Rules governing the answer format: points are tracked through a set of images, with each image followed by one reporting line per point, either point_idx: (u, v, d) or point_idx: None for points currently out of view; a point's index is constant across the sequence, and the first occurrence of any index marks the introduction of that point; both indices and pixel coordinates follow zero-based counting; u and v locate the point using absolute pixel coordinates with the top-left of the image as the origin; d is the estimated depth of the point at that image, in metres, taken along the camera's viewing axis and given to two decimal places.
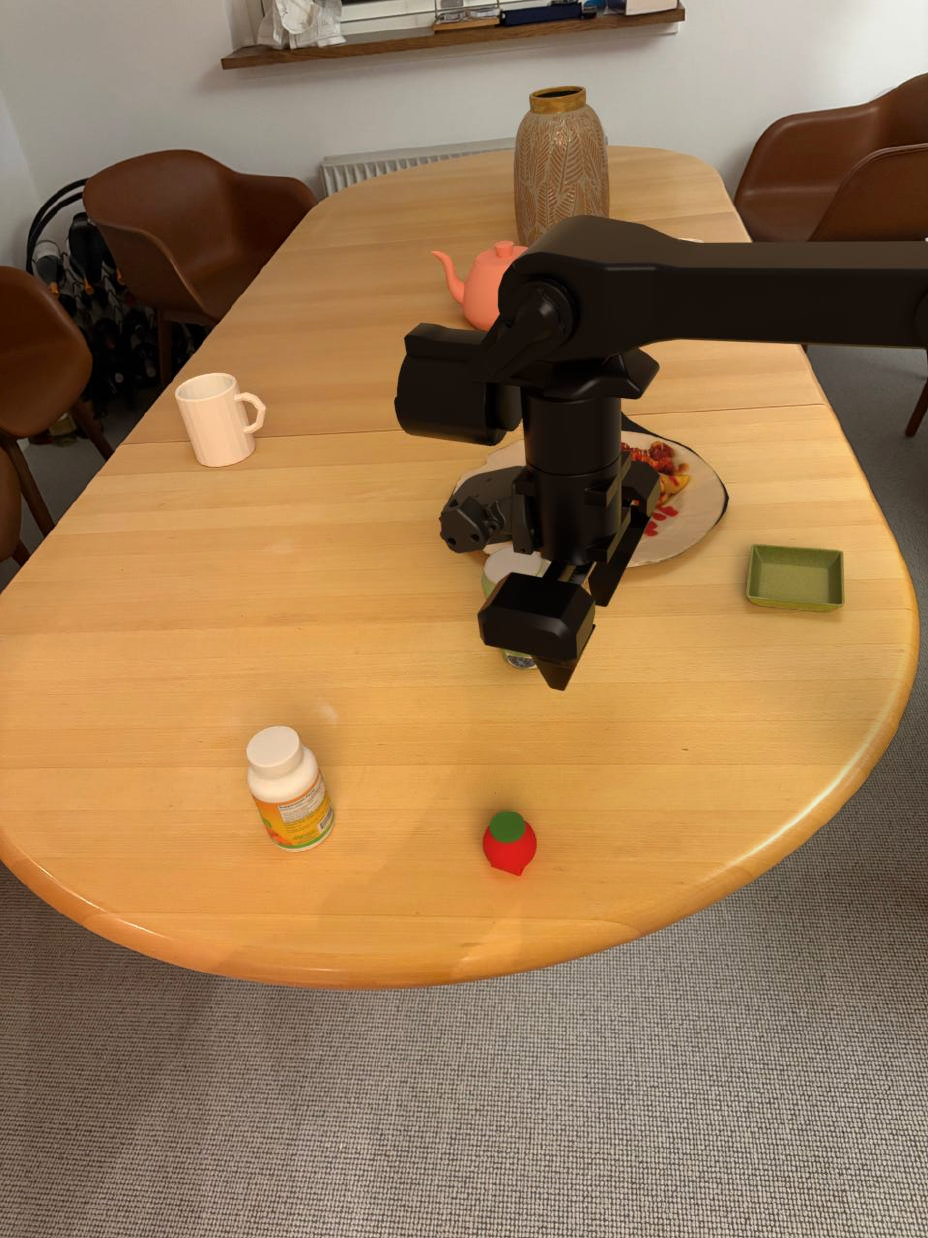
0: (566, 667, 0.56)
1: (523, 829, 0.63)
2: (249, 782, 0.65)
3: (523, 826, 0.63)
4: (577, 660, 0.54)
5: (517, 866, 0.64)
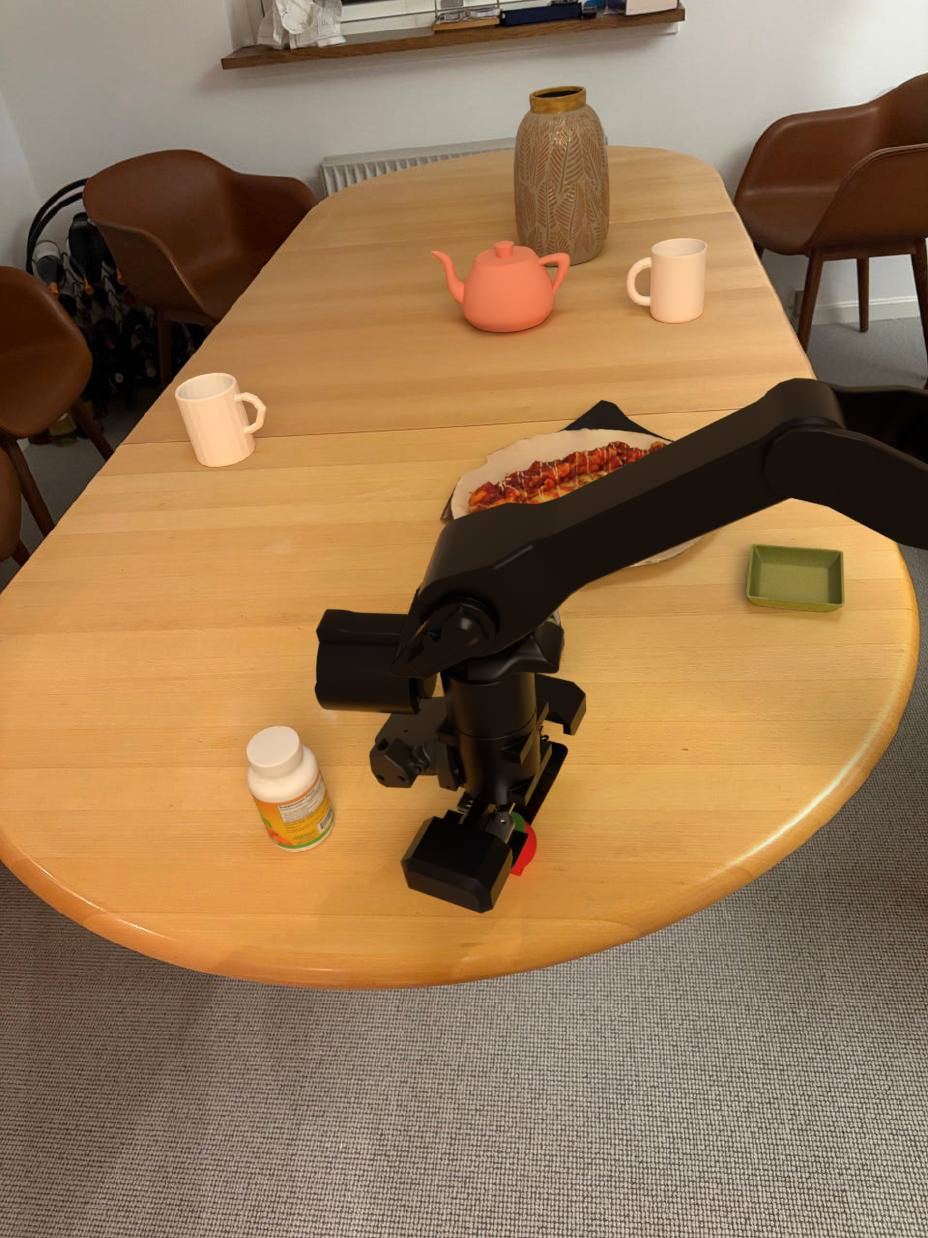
0: None
1: (523, 829, 0.63)
2: (249, 782, 0.65)
3: (523, 826, 0.63)
4: None
5: (517, 866, 0.64)
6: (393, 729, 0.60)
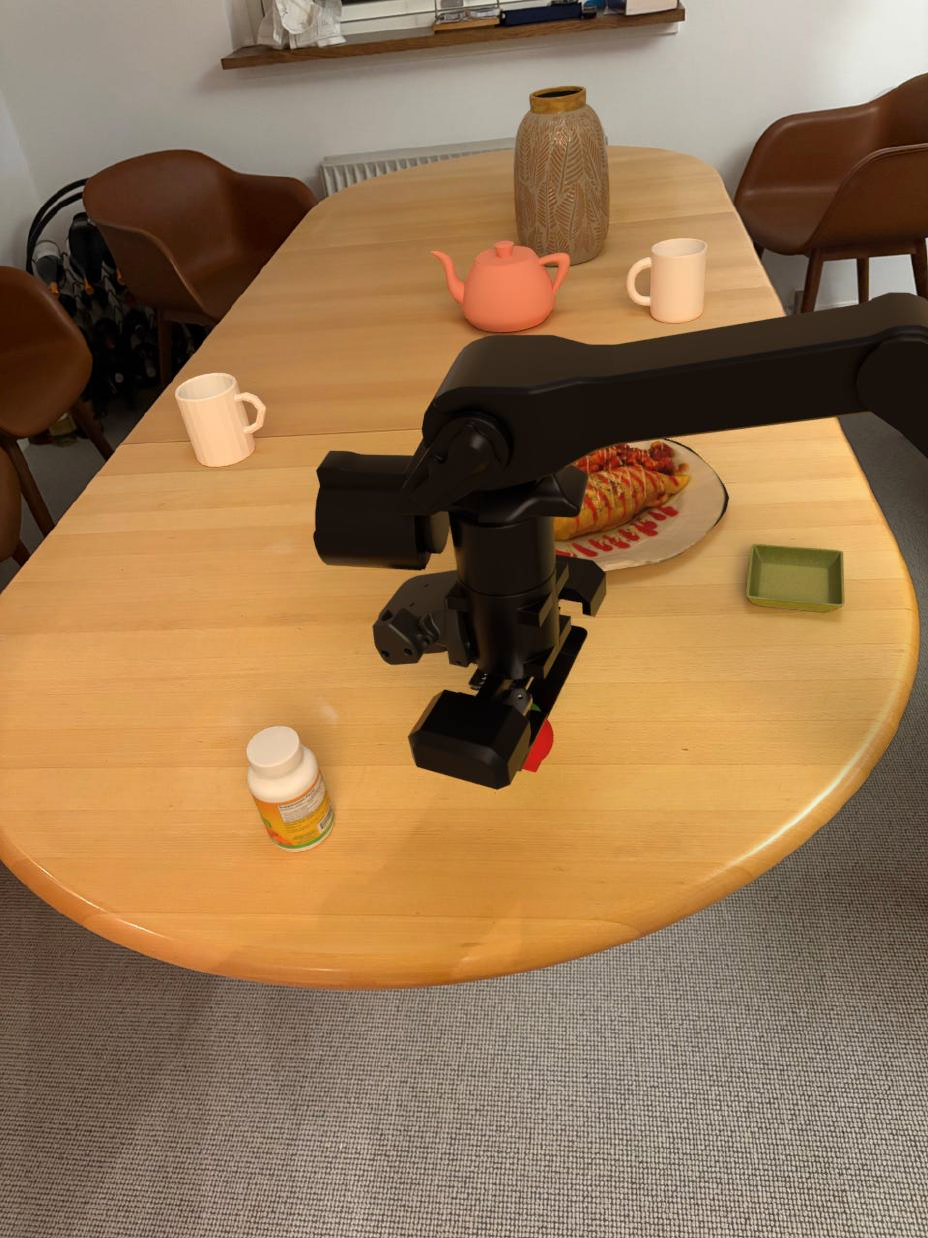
0: None
1: None
2: (249, 782, 0.65)
3: None
4: (530, 747, 0.54)
5: (533, 759, 0.59)
6: (398, 605, 0.55)
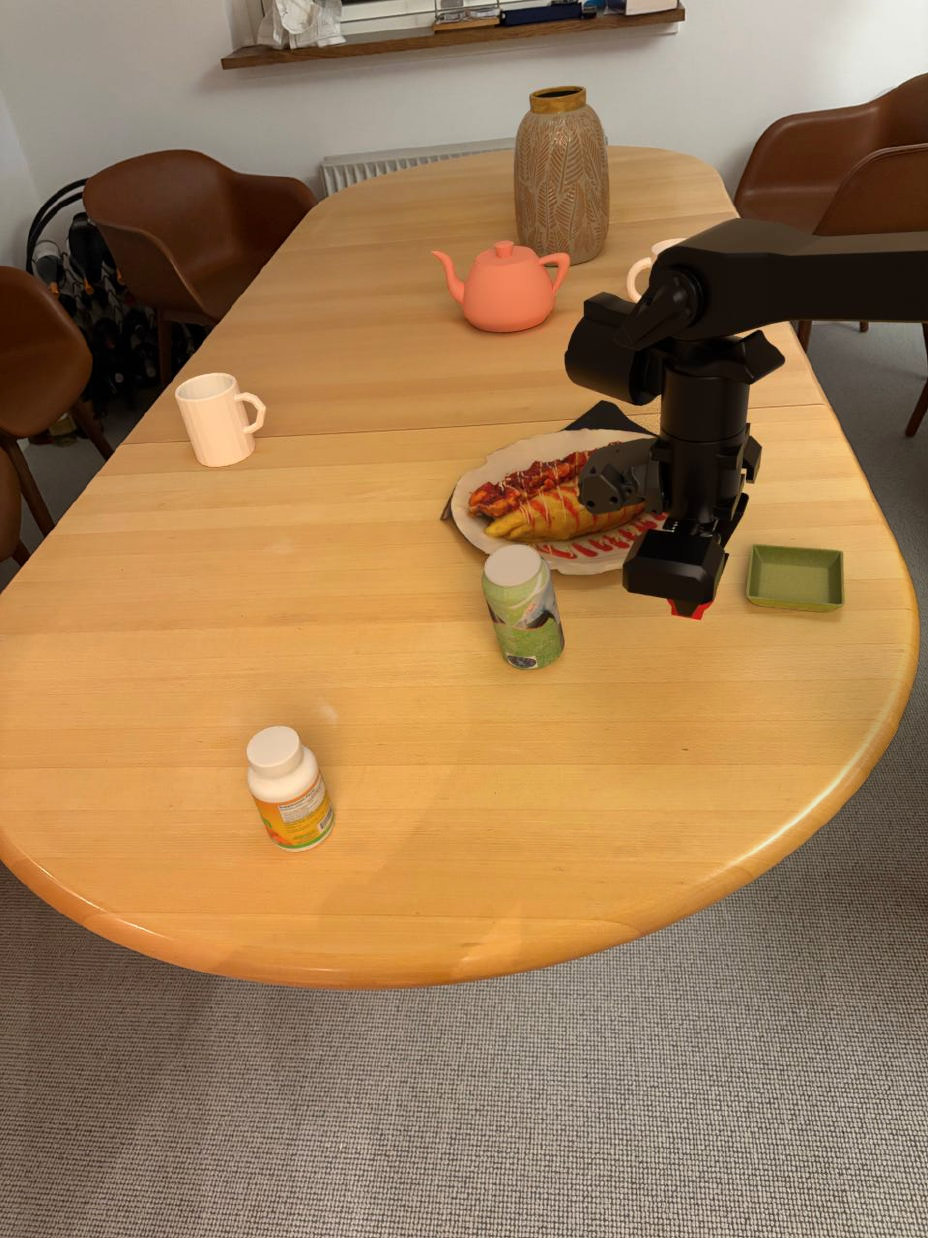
0: None
1: None
2: (249, 782, 0.65)
3: None
4: None
5: (701, 605, 0.68)
6: (595, 466, 0.65)
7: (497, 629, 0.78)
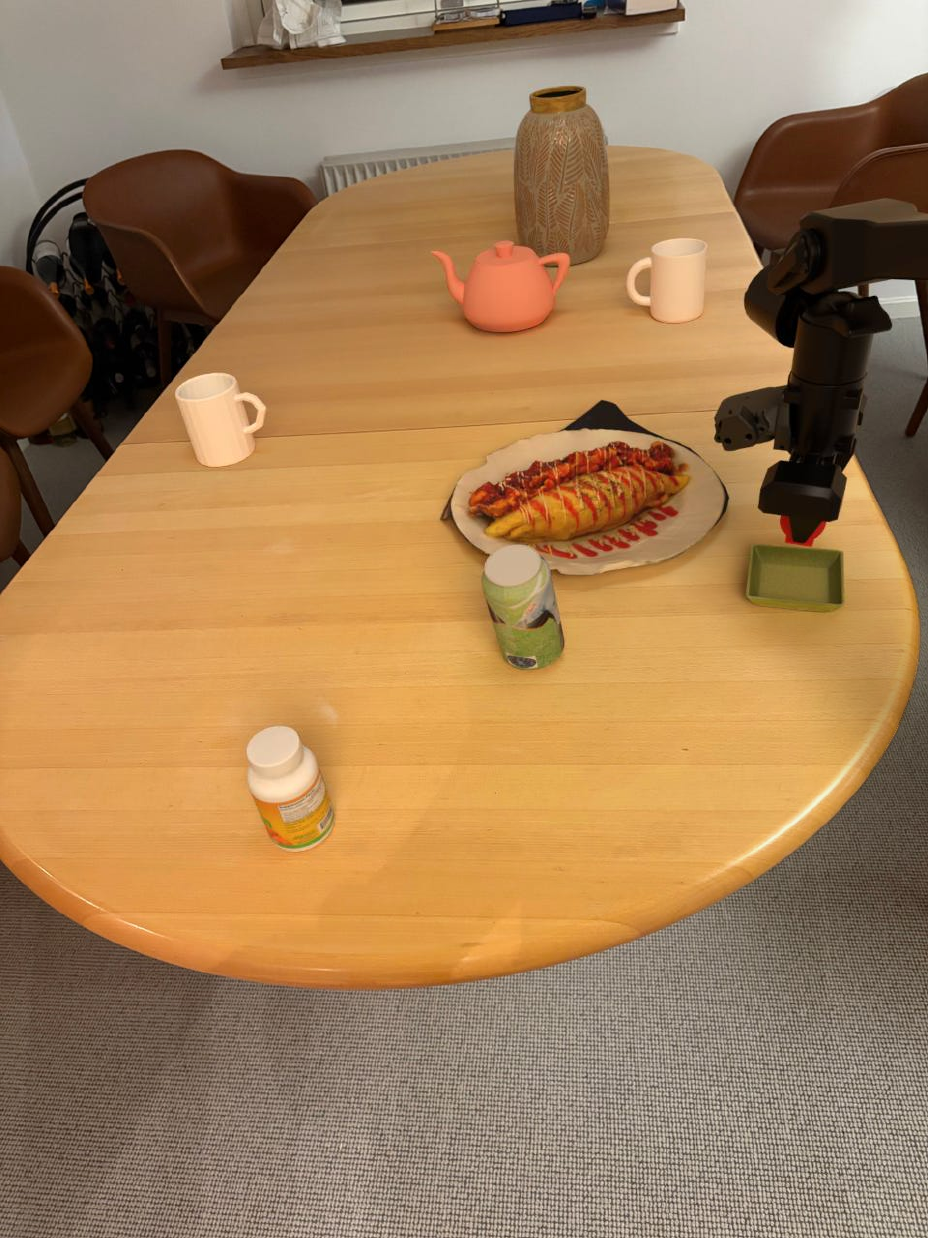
0: (816, 519, 0.76)
1: None
2: (249, 782, 0.65)
3: None
4: None
5: (814, 533, 0.79)
6: None
7: (497, 629, 0.78)
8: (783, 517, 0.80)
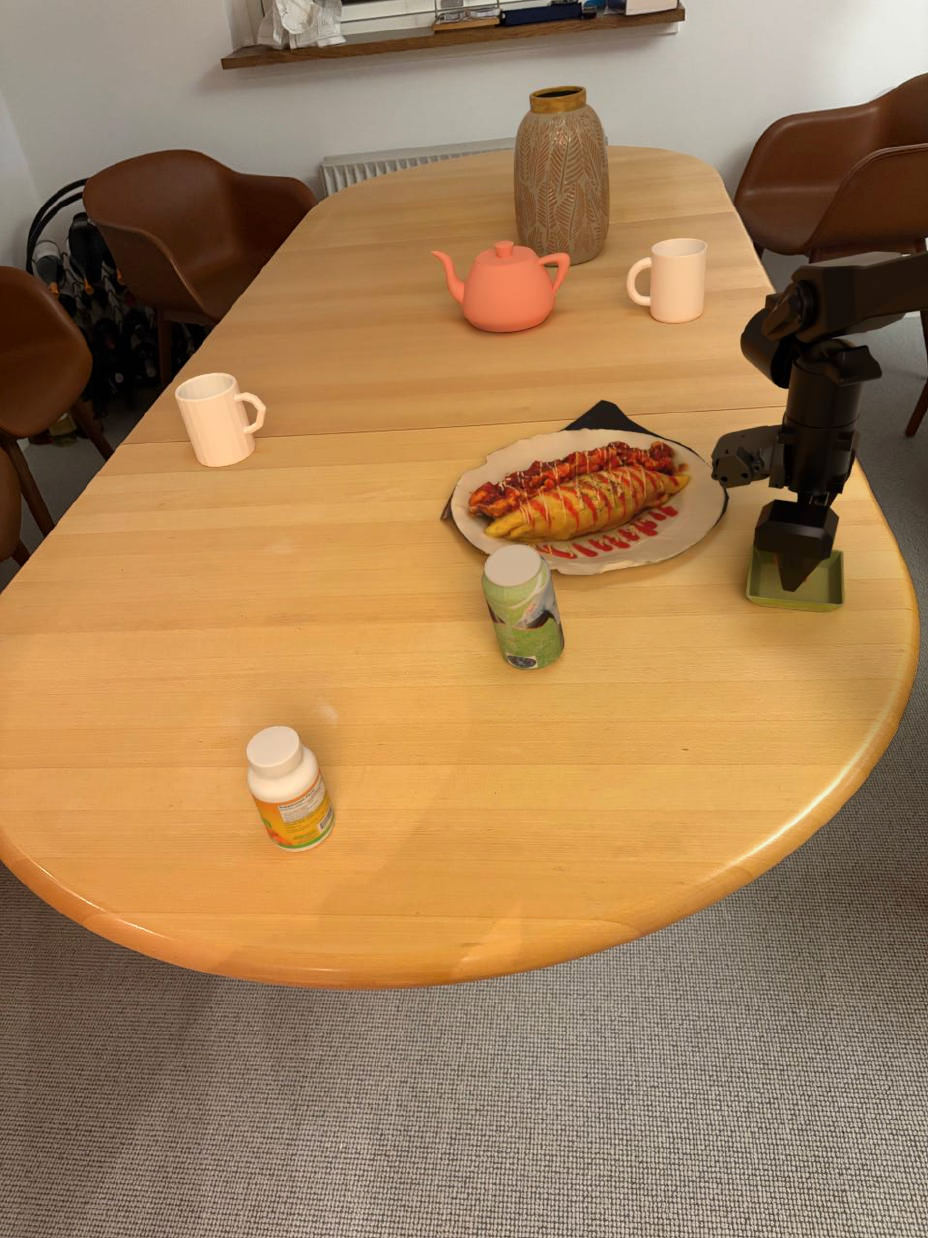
0: (805, 570, 0.77)
1: None
2: (249, 782, 0.65)
3: None
4: (818, 564, 0.76)
5: None
6: None
7: (497, 629, 0.78)
8: None
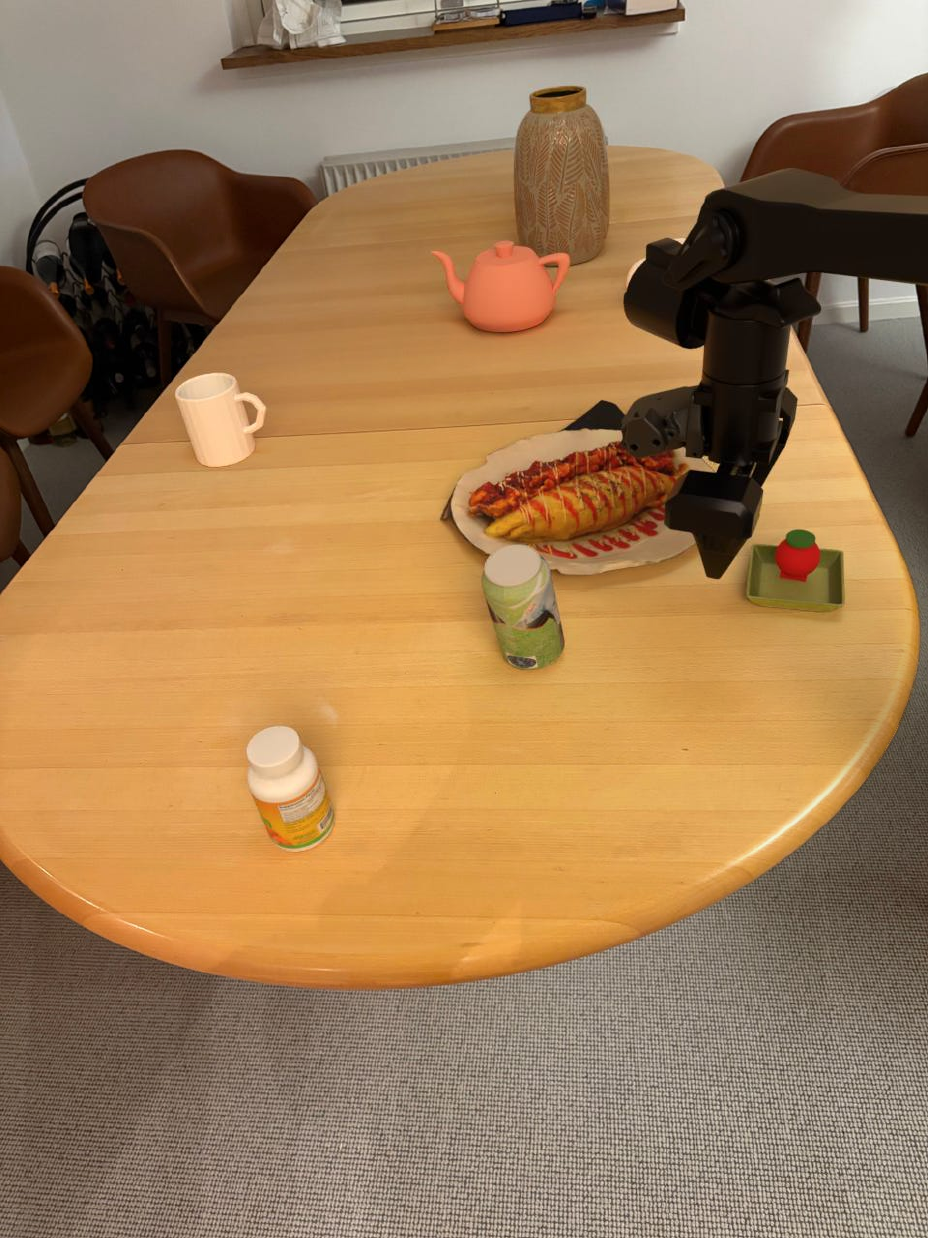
0: (728, 554, 0.67)
1: (814, 538, 0.81)
2: (249, 782, 0.65)
3: (814, 537, 0.82)
4: (741, 545, 0.65)
5: (808, 569, 0.82)
6: (638, 413, 0.68)
7: (497, 629, 0.78)
8: (778, 553, 0.83)
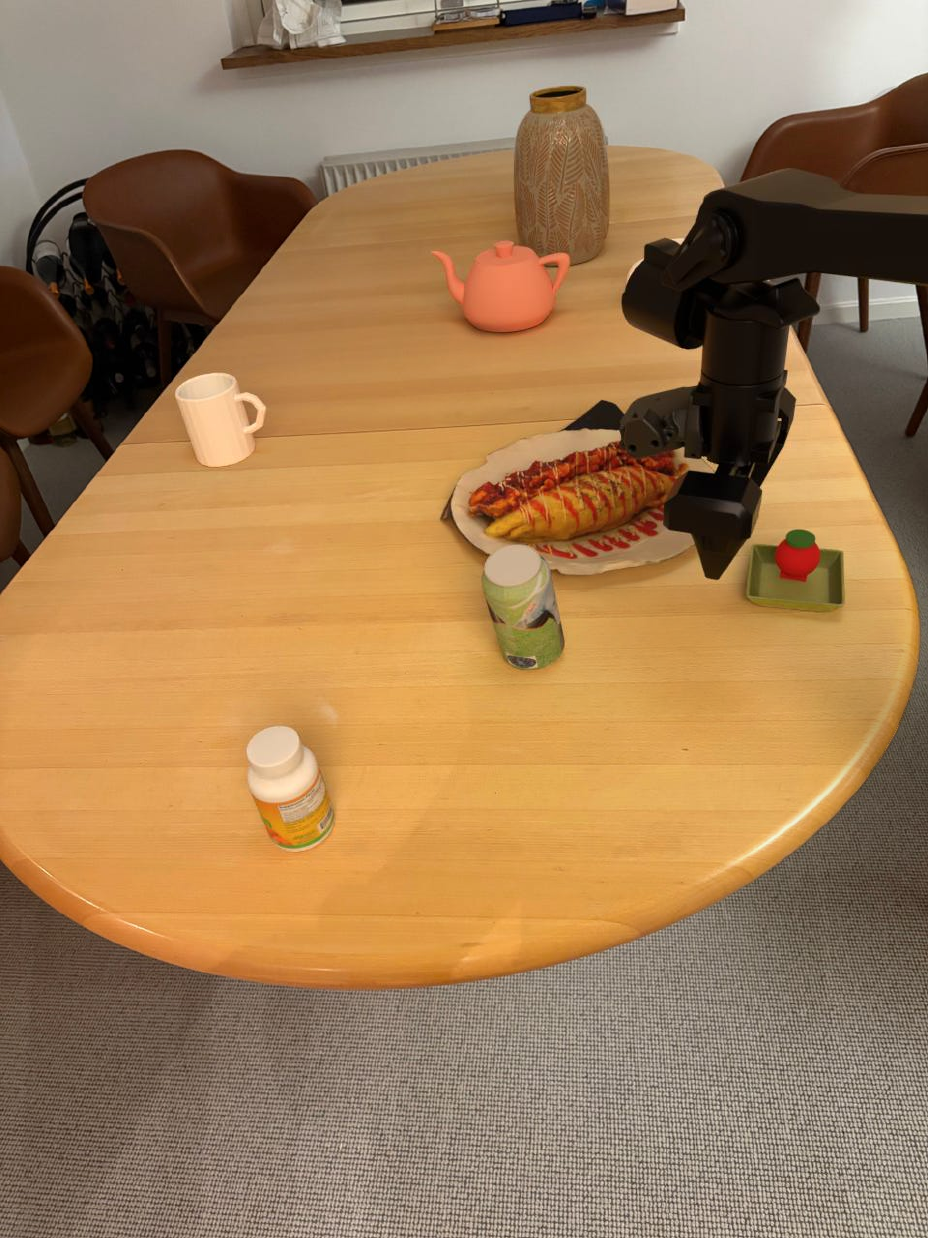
0: (727, 554, 0.66)
1: (814, 538, 0.81)
2: (249, 782, 0.65)
3: (814, 537, 0.82)
4: (740, 546, 0.65)
5: (808, 569, 0.82)
6: (636, 413, 0.68)
7: (497, 629, 0.78)
8: (778, 553, 0.83)
